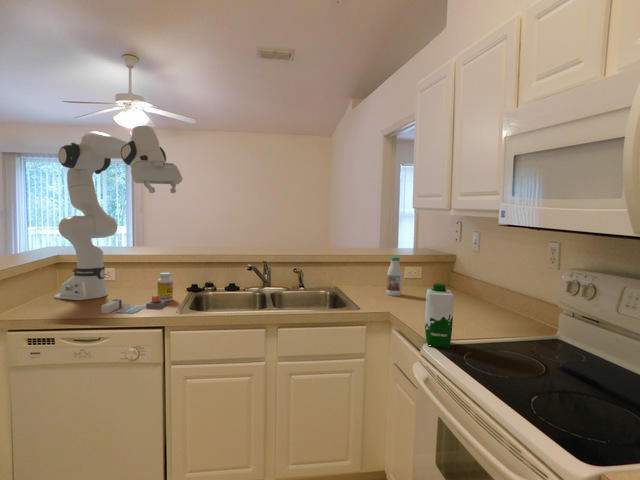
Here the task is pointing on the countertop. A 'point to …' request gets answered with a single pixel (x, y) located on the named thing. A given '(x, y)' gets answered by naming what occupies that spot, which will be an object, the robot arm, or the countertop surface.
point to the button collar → (155, 304)
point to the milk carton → (439, 316)
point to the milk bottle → (394, 278)
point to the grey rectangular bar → (111, 306)
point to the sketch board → (131, 309)
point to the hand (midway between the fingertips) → (163, 192)
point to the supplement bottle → (165, 287)
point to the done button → (156, 299)
